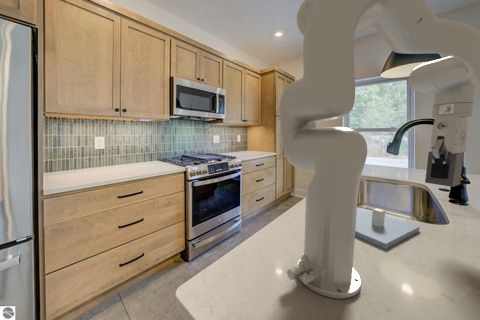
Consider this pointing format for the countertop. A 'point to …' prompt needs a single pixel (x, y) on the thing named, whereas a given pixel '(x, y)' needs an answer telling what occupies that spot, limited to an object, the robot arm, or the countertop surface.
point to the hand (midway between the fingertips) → (442, 176)
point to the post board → (382, 229)
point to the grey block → (453, 170)
